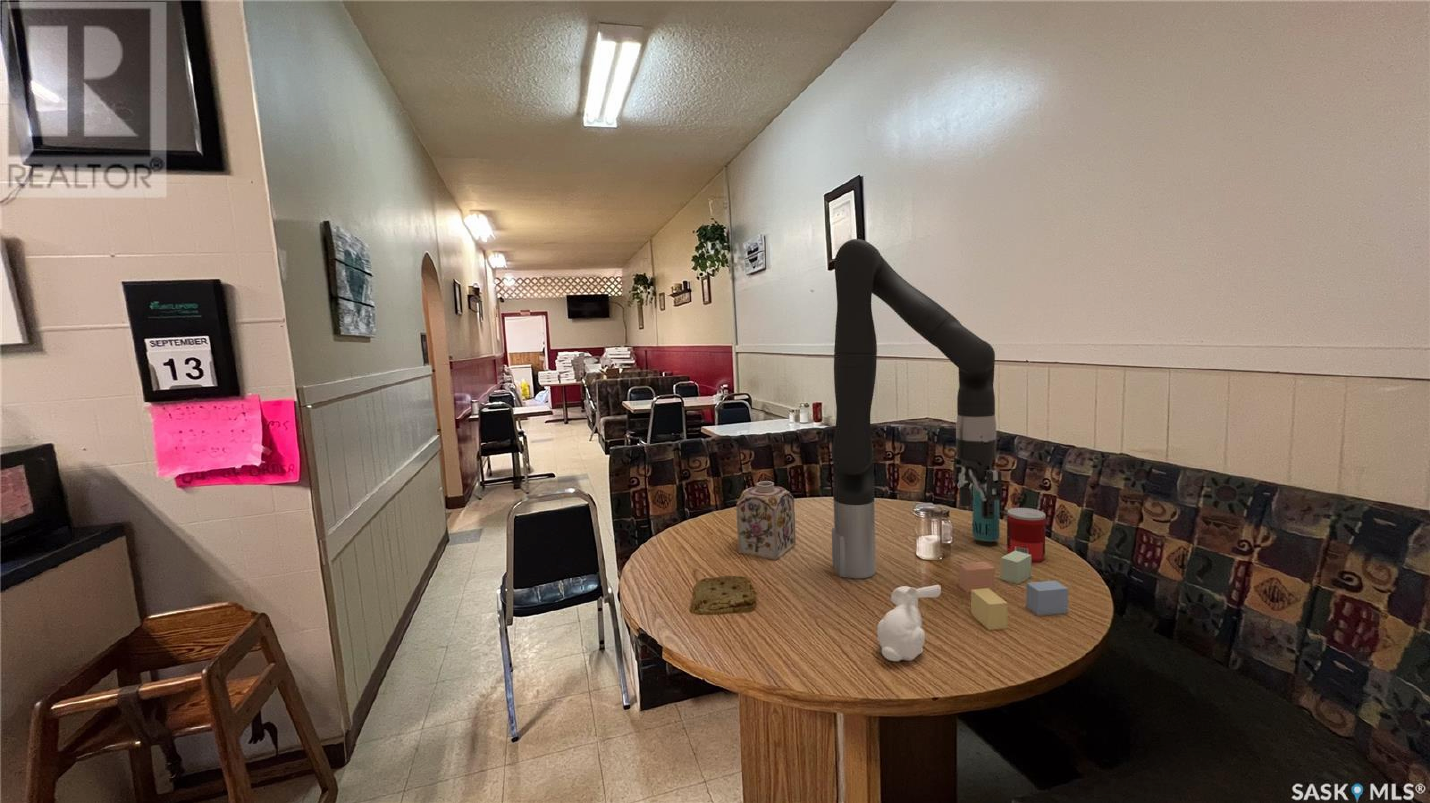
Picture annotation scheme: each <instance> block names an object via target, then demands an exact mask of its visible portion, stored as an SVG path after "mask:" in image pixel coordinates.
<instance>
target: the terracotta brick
mask: <svg viewBox="0 0 1430 803" xmlns="http://www.w3.org/2000/svg"><path fill="white" fill-rule="evenodd" d="M957 586H958V587H959V588H960V589H961V590H962V591H964V592H965V593H967V594H969V593H970V594H971V590H974V589H985V588H989V589H990V590H991V591H993V592H994V591H995V567H994V566H992V565H990V563H988V562H987V561H975V562H974V561H973V562H963V563H962V562H961V563H958V564H957Z"/></svg>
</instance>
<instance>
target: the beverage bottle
mask: <svg viewBox="0 0 1430 803" xmlns="http://www.w3.org/2000/svg"><path fill="white" fill-rule="evenodd" d="M991 470H996V469H995V468H994V467H992V466H991ZM993 482H994V481H993ZM985 485H986V484H985ZM994 491H995V494H996V488H995V489H994ZM971 493H972V494H971V504H972V513H971V515H972V521H971V522H972V524H971V525H972V526H971V527H972V529H971V532H972V536H973V538H975V539H976V540H979V541H982V542H996V541H999V539H1000V527H1001V525H1000V516H1001V515H1000V500H995V501H994V518H992V519H984V518H982V501H983V500H982V498H981V495H980V492H979V491H977V490H976V488H975V485H973V484H972V490H971ZM985 493H986V495H987V490H985Z"/></svg>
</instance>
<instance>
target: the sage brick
mask: <svg viewBox="0 0 1430 803" xmlns="http://www.w3.org/2000/svg"><path fill="white" fill-rule="evenodd" d="M1031 577H1032V563H1031V555H1029V554H1026V553H1022V552H1019V551H1013V552H1011V553H1009V554H1008V553H1006V554H1005V555H1004V556H1003V555H1002V556H1001V557H1000V579H1001V580H1002V581H1003V580H1004V581H1006V582H1009V583H1012V584H1014V585H1015V584H1016V585H1019V584H1021V583H1022V582H1024V581H1025V580H1028V579H1029V578H1031Z"/></svg>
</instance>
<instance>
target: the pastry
mask: <svg viewBox="0 0 1430 803" xmlns="http://www.w3.org/2000/svg"><path fill="white" fill-rule="evenodd" d="M692 589H693V590H692V591H693V592H692V598H691V603H690V608H689V609H690V612H691V613H692V614H695V615H702V616H703V615H710V616H711V615H712V616H713V615H715V616H716V615H723V614H733V613H750V612H752V611H755V609H756V608H757V598H758V597H757V591H756V590H755V587H754V585H753V584H752V582H751V579H750V578H749V577H747V576H740V575H722V576H716V577H705V578H703V579H702V578H701V579H699V580H698V581H697V582H696V583H695V584H694V586H693V588H692Z"/></svg>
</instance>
